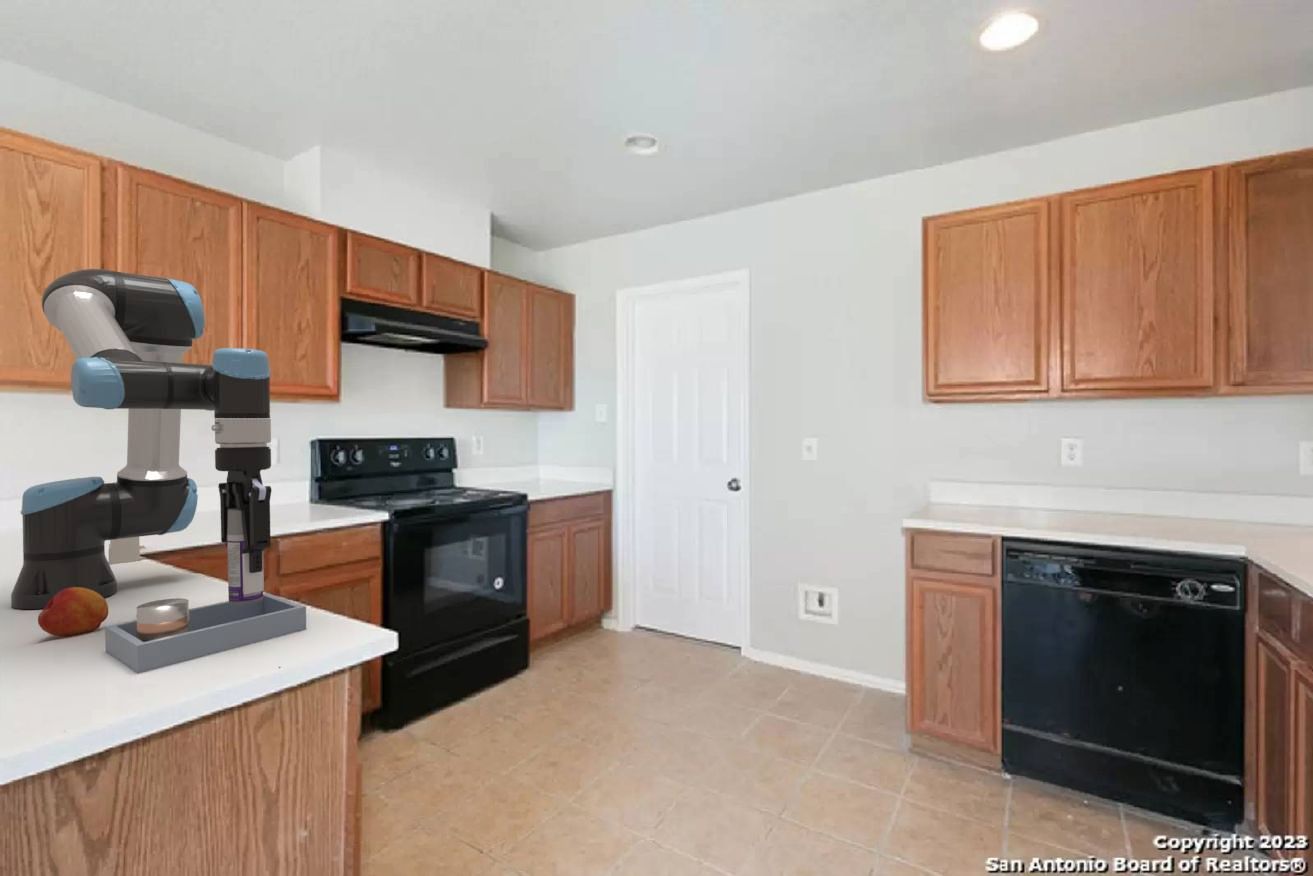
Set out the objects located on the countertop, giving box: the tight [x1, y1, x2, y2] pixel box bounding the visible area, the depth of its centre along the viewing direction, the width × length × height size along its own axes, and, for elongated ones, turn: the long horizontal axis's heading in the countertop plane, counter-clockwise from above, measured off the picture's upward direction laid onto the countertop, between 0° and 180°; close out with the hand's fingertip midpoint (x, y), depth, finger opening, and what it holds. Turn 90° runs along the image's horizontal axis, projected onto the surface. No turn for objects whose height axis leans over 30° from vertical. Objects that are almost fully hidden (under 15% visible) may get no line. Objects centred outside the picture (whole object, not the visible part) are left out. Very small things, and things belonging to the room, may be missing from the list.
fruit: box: [37, 587, 109, 638], centre depth 102 cm, size 8×8×8 cm
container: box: [227, 508, 264, 605], centre depth 101 cm, size 5×5×15 cm
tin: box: [136, 597, 190, 642], centre depth 93 cm, size 6×6×7 cm
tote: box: [104, 592, 307, 674], centre depth 98 cm, size 14×22×4 cm, turn 145°
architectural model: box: [108, 537, 147, 566], centre depth 156 cm, size 3×7×7 cm, turn 136°
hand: (246, 589), depth 101 cm, fingers closed on container, 5 cm apart
